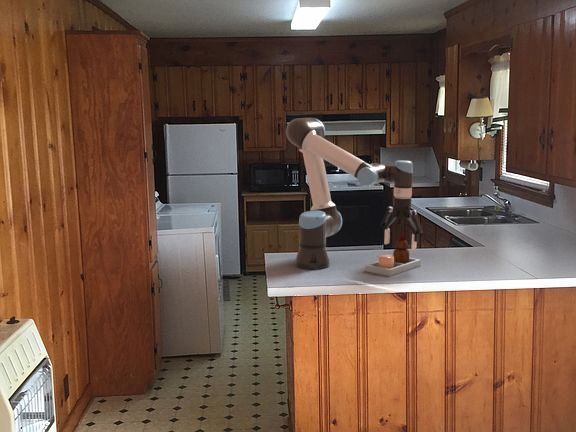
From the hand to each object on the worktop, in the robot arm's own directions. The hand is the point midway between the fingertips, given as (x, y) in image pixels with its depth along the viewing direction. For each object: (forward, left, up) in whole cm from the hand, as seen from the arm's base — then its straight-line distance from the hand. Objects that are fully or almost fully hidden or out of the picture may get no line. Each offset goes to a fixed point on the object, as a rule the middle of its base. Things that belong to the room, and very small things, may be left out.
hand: (400, 246), depth 276 cm
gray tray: (0, -5, -9) cm, 11 cm away
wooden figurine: (0, +1, -9) cm, 9 cm away
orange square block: (0, -11, -8) cm, 14 cm away
